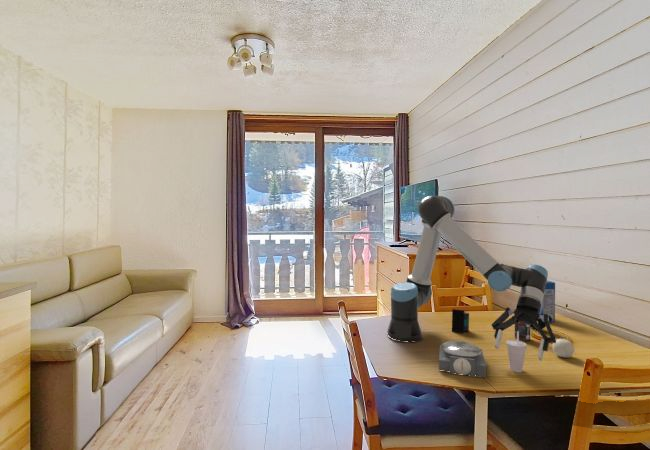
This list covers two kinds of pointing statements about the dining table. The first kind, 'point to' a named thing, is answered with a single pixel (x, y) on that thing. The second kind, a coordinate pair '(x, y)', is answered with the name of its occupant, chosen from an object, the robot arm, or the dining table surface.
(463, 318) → the speaker
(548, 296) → the milk carton
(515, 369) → the smoothie
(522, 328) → the supplement bottle
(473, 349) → the scale pan
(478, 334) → the dining table surface
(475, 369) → the scale base
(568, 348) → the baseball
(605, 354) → the dining table surface
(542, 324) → the controller
